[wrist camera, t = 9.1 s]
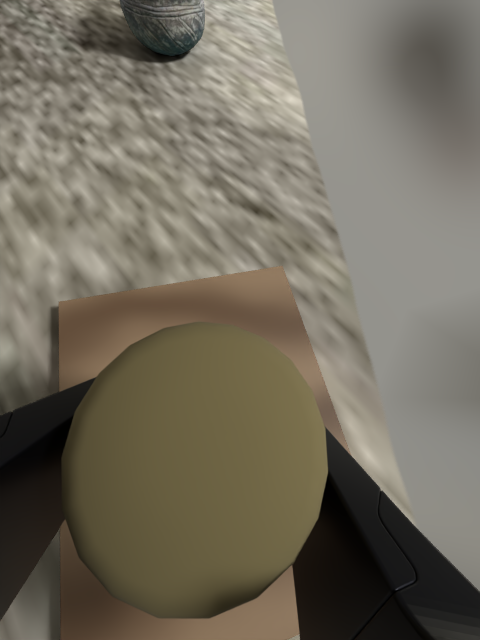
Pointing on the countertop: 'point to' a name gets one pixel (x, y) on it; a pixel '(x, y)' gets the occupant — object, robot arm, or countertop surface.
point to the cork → (194, 470)
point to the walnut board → (99, 351)
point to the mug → (166, 23)
